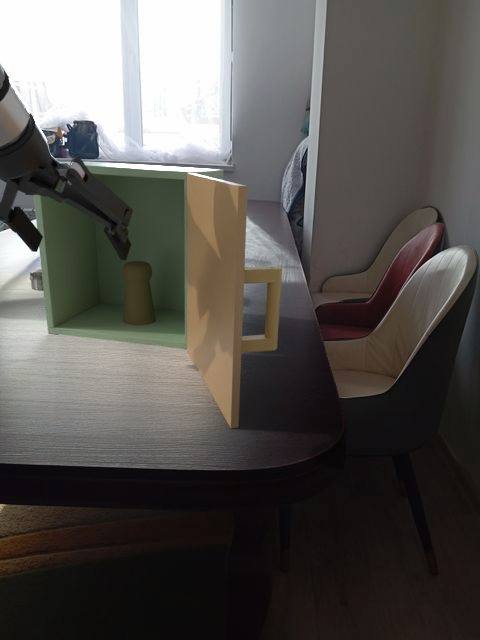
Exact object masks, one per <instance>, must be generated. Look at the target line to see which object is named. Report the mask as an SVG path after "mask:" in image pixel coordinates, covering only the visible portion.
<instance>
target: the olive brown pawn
mask: <svg viewBox="0 0 480 640" xmlns="http://www.w3.org/2000/svg"><path fill="white" fill-rule="evenodd" d="M123 275H124V278H125V279H126V290H125V301H124V312H123V322H124V323H126V324H130V325H147V324H151V323H153V322H155V321H156V318H155V312H154V306H153V300H152V293H151V287H150V281H149V280H150V278H151V277H152V267H151V265H150V264H149V263H147V262H144V261H130V262H127V263H126V264H125V265H124V266H123Z"/></svg>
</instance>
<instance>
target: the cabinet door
mask: <svg viewBox="0 0 480 640" xmlns="http://www.w3.org/2000/svg"><path fill="white" fill-rule="evenodd" d="M248 187H249V186H248V185H244V184H240V183H237V182H233V181H228V180H224V179H223V180H220V179H216V178H212V177H207V176H203V175H199V174H195V173H187V349H186V350H187V354H188V355H189V357H190V359H191V361H192V362H193V364H194V366H195V368H196V370H197V371H198V373H199V375H200V377H201V378H202V380H203V382H204V384H205V386H206V387H207V389H208V391H209V392H210V395H211V396H212V398H213V399H214V401H215V403H216V405H217V407H218V408H219V410H220V412H221V414H222V416H223V417H224V419H225V421H226V424H228V427H229V428H230V429H238V428H239V427H240V426H239V425H240V424H239V423H240V400H241V399H240V397H241V372H242V354H246V353H260V352H272V351H273V352H274V351H276V350H277V349H278V342H279V341H278V339H279V325H280V311H281V310H280V308H281V294H282V293H281V292H282V280H283V279H282V277H283V268H282V267H280V266H277V265H275V266H272V265H271V266H246V264H245V263H246V242H247V241H246V238H247V215H248V214H247V213H248V190H249V189H248ZM246 284H247V285H249V284H251V285H252V284H267V285H266V302H265V303H266V304H265V320H264V321H265V322H264V334H254V335H243V321H244V295H245V294H244V293H245V285H246Z"/></svg>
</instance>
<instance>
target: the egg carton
mask: <svg viewBox="0 0 480 640" xmlns="http://www.w3.org/2000/svg"><path fill="white" fill-rule="evenodd" d="M29 280H30V285H31V289H32V290H36V291H43V290H44V289H43V279H42V270H41V268H40V269H39V268H38V269H36V270H33V272H29Z"/></svg>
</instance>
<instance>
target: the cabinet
mask: <svg viewBox="0 0 480 640" xmlns="http://www.w3.org/2000/svg"><path fill="white" fill-rule="evenodd" d="M58 162H59V163H71V161H58ZM83 162H84V164H85V165H86V167H87V168H88V170H89V171H90V172H91V173H92V174H93V175H94V176H95V177H96V178H98V179H99V180H100V181H101V182H102V183H103V184H104V185H106V186H107V187H108V188H109V189H110V190H111V191H112V192H114V193H115V194H116V195H117V196H118V197H119V198H120V199H121V200H123V201H124V202H125V203H126V204H127V205H128V206H129V207H131V208H132V209H133V213H132V216H131V219H130V222H129V225H128V227H127V229H128V231H129V234H128V239H129V241H130V243H131V247H130V250H129V253H128V256H127V259H126V260H121V259H120V257H119V256H118V254H117V252H116V251H115V249H114V247H113V246H112V244H111V242H110V241H109V239H108V237H107V236H106V234H105V232H104V228H105V226H104V225H102V224H100V223H99V222H97V221H95V220H94V219H92V218H90V217H89V216H87V215H85V214H84V213H82V212H81V211H79V210H77V209H76V208H74V207H72V206H71V205H69V204H67V203H66V202H62V203H59V202H57V201H55V200H54V199H52V198H50V197H47V196H41V195H33V202H34V212H35V220H36V228H37V229H38V231H39V232H40V233H41V234H42V236H43V238H42V241H41V243H40V245H39V248H38V250H39V259H40V260H39V261H40V269H41V270H42V279H43V289H42V290H43V297H44V307H45V317H46V326H47V327H46V328H47V334H51V335H60V336H61V335H62V336H71V337H77V338H79V337H80V338H87V339H88V338H89V339H96V340H104V341H112V342H122V343H129V344H138V345H147V346H154V347H163V348H173V349H180V350H187V173H195V174H199V175H203V176H207V177H212V178H216V179H220V180H224V169H217V168H199V167H185V166H184V167H182V166H169V165H168V166H167V165H166V166H165V165H152V164H151V165H150V164H134V163H133V164H132V163H118V162H103V161H102V162H101V161H83ZM62 186H63V181H61V180H60V179H59V183H58V185H57V188H56V191H58V192H60V190H61V188H62ZM130 261H144V262H147V263H149V264H150V265H151V267H152V277H151V278H150V280H149V281H150V287H151V293H152V300H153V306H154V312H155V318H156V321H155V322H153V323H151V324H147V325H130V324H126V323H124V322H123V312H124V301H125V290H126V279H125V278H124V275H123V266H124V265H125V264H126V263H127V262H130Z"/></svg>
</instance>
